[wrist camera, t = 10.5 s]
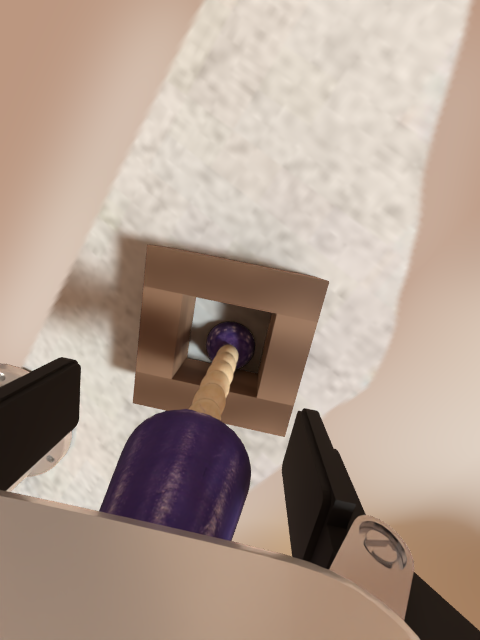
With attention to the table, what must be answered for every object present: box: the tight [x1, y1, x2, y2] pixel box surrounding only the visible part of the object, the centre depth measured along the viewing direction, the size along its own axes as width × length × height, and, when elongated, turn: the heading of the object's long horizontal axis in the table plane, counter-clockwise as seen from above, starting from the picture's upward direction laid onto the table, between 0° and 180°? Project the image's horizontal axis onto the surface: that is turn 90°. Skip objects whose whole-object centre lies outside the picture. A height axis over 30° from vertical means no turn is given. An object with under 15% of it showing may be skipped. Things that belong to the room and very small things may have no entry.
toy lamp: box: [99, 322, 255, 541], centre depth 13 cm, size 5×5×17 cm
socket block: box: [133, 245, 329, 437], centre depth 19 cm, size 12×12×4 cm
